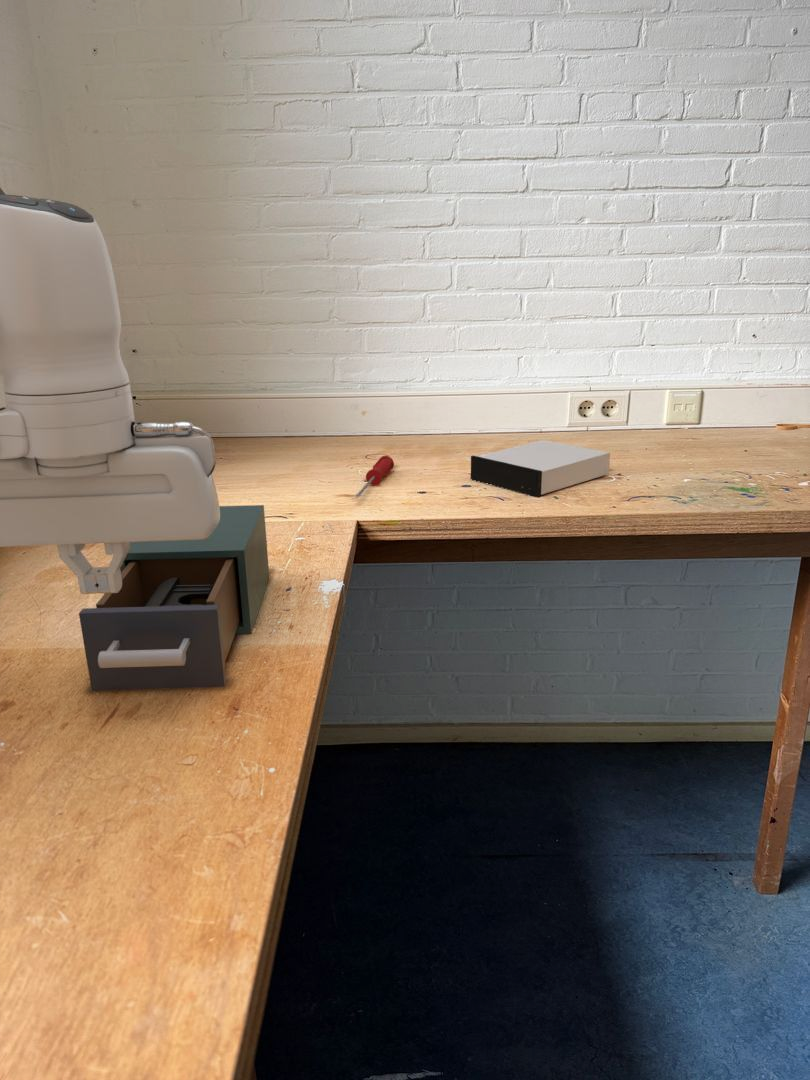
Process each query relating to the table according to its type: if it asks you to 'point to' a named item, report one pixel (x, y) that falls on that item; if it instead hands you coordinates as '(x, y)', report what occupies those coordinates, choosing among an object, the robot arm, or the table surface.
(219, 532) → the cabinet
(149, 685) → the drawer
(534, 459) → the disc drive
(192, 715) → the table surface
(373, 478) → the screwdriver
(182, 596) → the end cap
